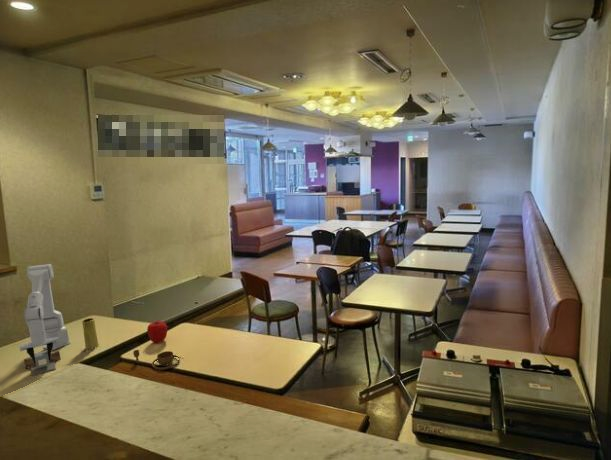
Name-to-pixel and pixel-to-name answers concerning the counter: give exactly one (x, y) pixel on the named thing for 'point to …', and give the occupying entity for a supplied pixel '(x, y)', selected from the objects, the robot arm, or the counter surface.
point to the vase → (90, 333)
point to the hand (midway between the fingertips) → (42, 361)
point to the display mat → (43, 368)
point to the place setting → (160, 359)
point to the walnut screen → (53, 357)
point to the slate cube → (42, 359)
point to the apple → (157, 331)
